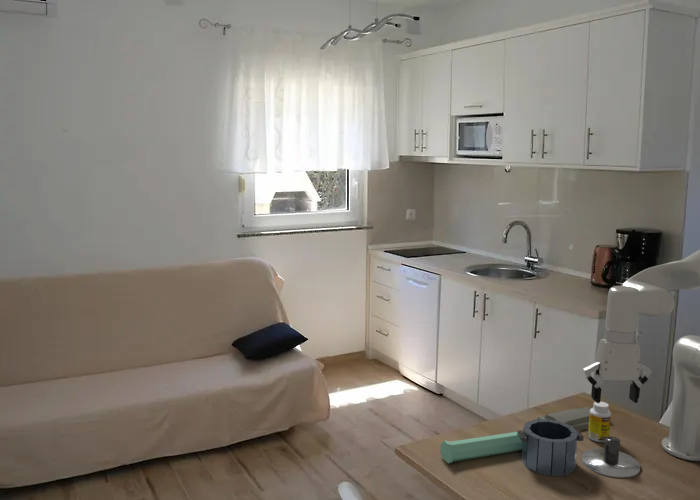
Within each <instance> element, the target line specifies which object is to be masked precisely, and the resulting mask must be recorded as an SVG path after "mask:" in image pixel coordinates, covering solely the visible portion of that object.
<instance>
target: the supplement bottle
mask: <svg viewBox="0 0 700 500" xmlns="http://www.w3.org/2000/svg"><path fill="white" fill-rule="evenodd" d="M609 409H610V405H609V404H608V403H607V402H605V401H600V403H596V402H595V401H594V402H593V405H592V407H591V410H590V416H589V429H587V430H588V432H587V437H588V439H590V440H591V441H593V442H597V443H605V437H608V436H610V431H611V424H610V422H612V419H611V418H612V413H611V411H610V410H609Z"/></svg>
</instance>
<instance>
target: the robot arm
mask: <svg viewBox="0 0 700 500" xmlns="http://www.w3.org/2000/svg"><path fill="white" fill-rule="evenodd" d="M699 289H700V249H698V250H697V251H695V252H693V253H692V254H690V255H688V256H686V257H684V258H682V259H680V260H674V261H671V262H670V261H669V262H667V263H663V264H659V265H655V266H651V267H648V268H645V269H643V270H642V271H639V272H638V273H636V274H634V275H633V276H631V277H629V278H628V279H626V280H625V281H624V282H623V283H622V284H621V285H613V286H612V287H610V288H609V289H608V293H607V300H606V314H605V325H604V336H603V338H600V340H599V343H598V346H597V351H596V354H595V360H594V362H593V363H592V364H590V365H588V366H587V367H584V368H583V369H582V372H583V375H584V376H585V379H586V380H587V382H589V383H590V384H591V393H590V396H591V398H592V401H594V402H596V403H600V402H601V395H602V388H601V386H602V384H604V382H631V383H630V385H629V393H628V398H629V400H631V401H632V402H633V403H635V404H637V403H639V398H640V394H641V393H640V391H641V388H642V387H643V385H644V384H646V382H647V381H648V380H649V377H651V375H652V372H653V370H652V369H651V368H649V367H647V366H646V365H644V364H642V363H641V348H640V343H639V342H638V340H639V337H641V338H642V337H643V332H642V330H641V331H640V330H639V323H640V322H639V321H640V317H644V318H645V317H646V318H655V319H656V318H663V317H666V316H668V315H670V314H671V313H672V311H673V310H674V308H675V305H676V302H675V301H676V300H675V298H674V296H673V294H672V293H671V292H670V291H672V290H673V291H674V290H681V291H683V290H685V291H687V290H688V291H689V290H699ZM672 361H673V362H672V363H673V374H674V379H673V380H674V381H673V389H672V390H673V392H672V393H673V394H672V399H671V400H672V401H671V411H670V412H671V413H670V420H669V421H670V422H669V431H668V432H669V433H668V436H667V437H664V438H663V439H662V440H661V448H662V449H663V450H664V451H665V452H667V453H668V454H670V455H672V456H673V457H677V458H680V459H682V460H686V461H692V462H693V461H694V462H700V335H695V334H694V335H693V334H688V335H684V336H682V337H680V338H679V339H677V340H676V342H675V343H674V346H673V348H672ZM641 371H642V373H641ZM593 372H594V374H595V375H594V376H592V373H593ZM640 374H641V375H640Z"/></svg>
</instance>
